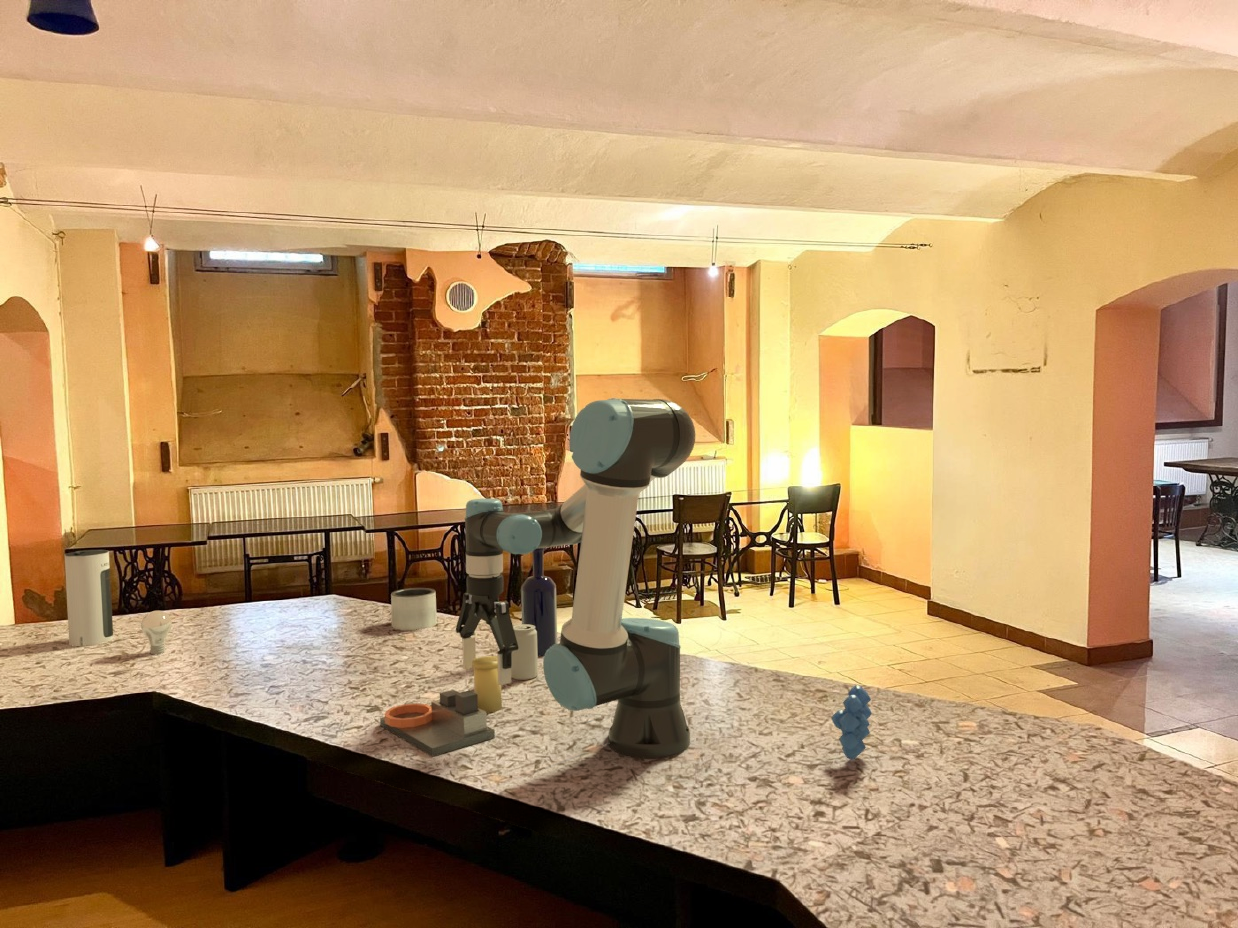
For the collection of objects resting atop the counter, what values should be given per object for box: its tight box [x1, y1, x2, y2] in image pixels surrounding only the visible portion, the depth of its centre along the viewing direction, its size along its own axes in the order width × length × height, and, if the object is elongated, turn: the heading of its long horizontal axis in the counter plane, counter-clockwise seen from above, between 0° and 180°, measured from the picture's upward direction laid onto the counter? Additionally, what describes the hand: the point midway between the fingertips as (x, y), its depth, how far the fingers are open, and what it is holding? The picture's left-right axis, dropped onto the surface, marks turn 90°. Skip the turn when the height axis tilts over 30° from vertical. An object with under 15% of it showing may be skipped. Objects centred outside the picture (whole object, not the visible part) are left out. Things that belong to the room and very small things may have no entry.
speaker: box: [64, 549, 114, 647], centre depth 231 cm, size 11×10×26 cm
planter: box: [390, 587, 438, 631], centre depth 243 cm, size 12×12×11 cm
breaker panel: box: [379, 699, 496, 757], centre depth 164 cm, size 21×13×5 cm, turn 41°
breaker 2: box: [455, 690, 478, 715], centre depth 160 cm, size 3×3×4 cm
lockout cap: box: [472, 655, 503, 714], centre depth 176 cm, size 6×6×10 cm
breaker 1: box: [439, 689, 460, 707], centre depth 165 cm, size 3×3×4 cm
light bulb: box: [140, 610, 173, 655], centre depth 220 cm, size 7×7×12 cm
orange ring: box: [384, 703, 432, 728], centre depth 166 cm, size 9×9×2 cm
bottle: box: [520, 548, 558, 657], centre depth 215 cm, size 9×9×30 cm
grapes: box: [831, 684, 873, 761], centre depth 149 cm, size 12×7×12 cm, turn 149°
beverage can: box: [511, 623, 539, 681], centre depth 197 cm, size 6×6×12 cm
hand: (486, 675), depth 177 cm, fingers open, 13 cm apart
